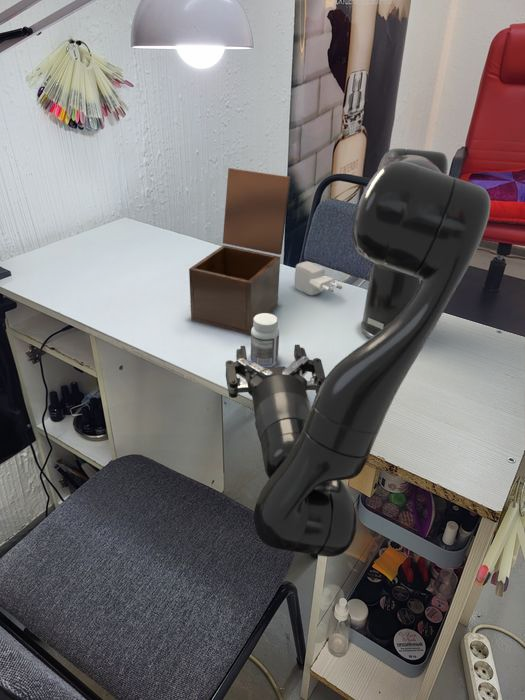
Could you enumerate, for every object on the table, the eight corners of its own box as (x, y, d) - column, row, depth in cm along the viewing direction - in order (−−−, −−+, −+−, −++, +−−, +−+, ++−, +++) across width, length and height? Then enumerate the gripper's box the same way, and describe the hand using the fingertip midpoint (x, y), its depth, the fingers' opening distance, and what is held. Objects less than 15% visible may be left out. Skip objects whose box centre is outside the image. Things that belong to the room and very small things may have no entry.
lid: (289, 177, 96) (290, 176, 96) (228, 168, 100) (230, 167, 101) (279, 254, 101) (281, 254, 102) (222, 243, 106) (224, 242, 106)
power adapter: (343, 301, 111) (346, 275, 108) (327, 307, 108) (330, 281, 105) (306, 283, 118) (308, 258, 115) (290, 288, 115) (292, 263, 112)
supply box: (249, 335, 97) (251, 282, 91) (191, 320, 101) (188, 268, 96) (277, 305, 108) (280, 256, 102) (223, 292, 112) (223, 245, 106)
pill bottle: (262, 350, 93) (263, 309, 88) (283, 360, 90) (285, 318, 86) (244, 361, 90) (245, 318, 85) (265, 372, 87) (267, 328, 83)
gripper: (340, 391, 67) (316, 328, 81) (229, 395, 66) (224, 330, 79) (333, 435, 71) (312, 368, 85) (229, 440, 70) (224, 370, 83)
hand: (269, 349), depth 82 cm, fingers open, 8 cm apart
